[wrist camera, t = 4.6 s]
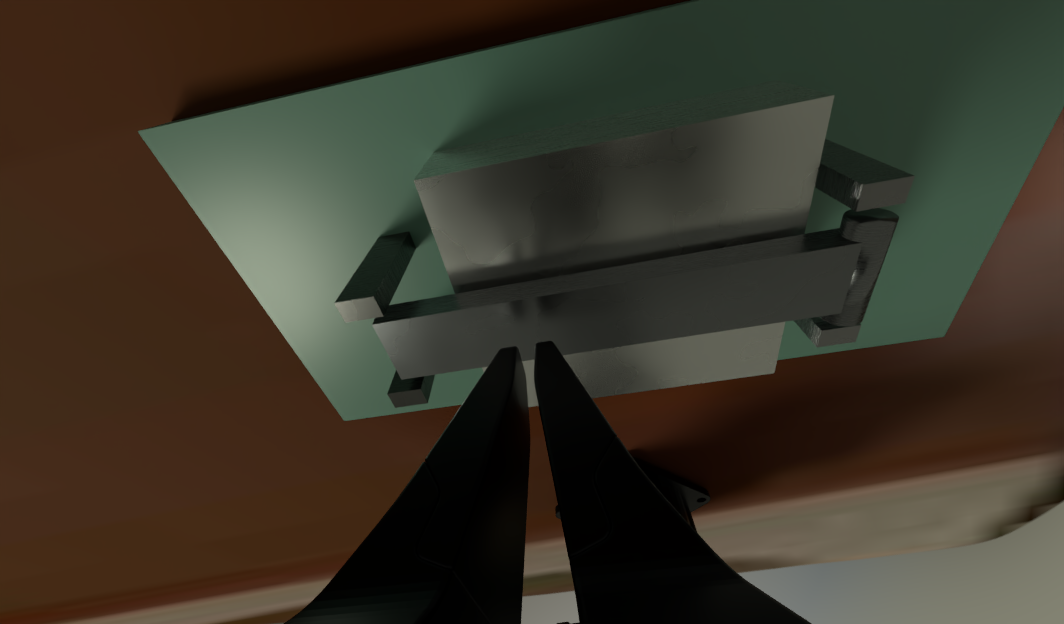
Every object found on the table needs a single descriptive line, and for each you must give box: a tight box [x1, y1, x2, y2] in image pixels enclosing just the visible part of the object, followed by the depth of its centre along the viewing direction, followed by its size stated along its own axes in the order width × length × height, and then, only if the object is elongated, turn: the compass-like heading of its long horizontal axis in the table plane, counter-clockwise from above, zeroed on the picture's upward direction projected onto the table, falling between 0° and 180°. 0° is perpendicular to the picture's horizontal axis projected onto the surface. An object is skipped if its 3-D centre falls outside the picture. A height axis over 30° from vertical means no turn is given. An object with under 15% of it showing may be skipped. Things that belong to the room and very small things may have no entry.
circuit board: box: [138, 0, 1064, 421], centre depth 14 cm, size 24×12×1 cm, turn 101°
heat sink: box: [334, 80, 915, 408], centre depth 12 cm, size 13×8×4 cm, turn 101°
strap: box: [372, 208, 899, 380], centre depth 11 cm, size 12×3×1 cm, turn 101°
